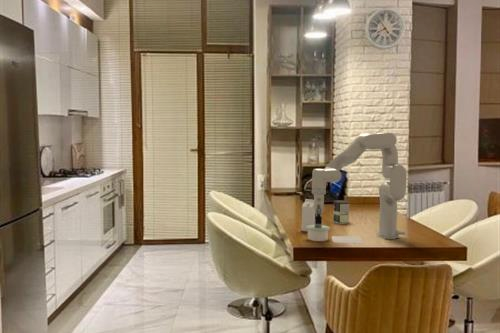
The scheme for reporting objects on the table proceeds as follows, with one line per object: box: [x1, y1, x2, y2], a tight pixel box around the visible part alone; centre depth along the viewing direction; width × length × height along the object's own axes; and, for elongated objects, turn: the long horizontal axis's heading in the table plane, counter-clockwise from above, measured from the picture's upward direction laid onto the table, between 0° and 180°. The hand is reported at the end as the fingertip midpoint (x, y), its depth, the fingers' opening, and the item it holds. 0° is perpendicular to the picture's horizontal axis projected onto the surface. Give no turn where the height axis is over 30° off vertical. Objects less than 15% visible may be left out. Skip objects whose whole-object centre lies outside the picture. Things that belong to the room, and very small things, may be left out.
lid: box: [306, 219, 331, 232], centre depth 271 cm, size 13×13×5 cm
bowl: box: [307, 230, 329, 242], centre depth 272 cm, size 11×11×6 cm
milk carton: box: [301, 198, 316, 233], centre depth 294 cm, size 7×7×19 cm
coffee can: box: [332, 199, 350, 225], centre depth 323 cm, size 10×10×14 cm
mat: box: [331, 235, 364, 245], centre depth 270 cm, size 16×16×1 cm
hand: (318, 222), depth 271 cm, fingers open, 9 cm apart
